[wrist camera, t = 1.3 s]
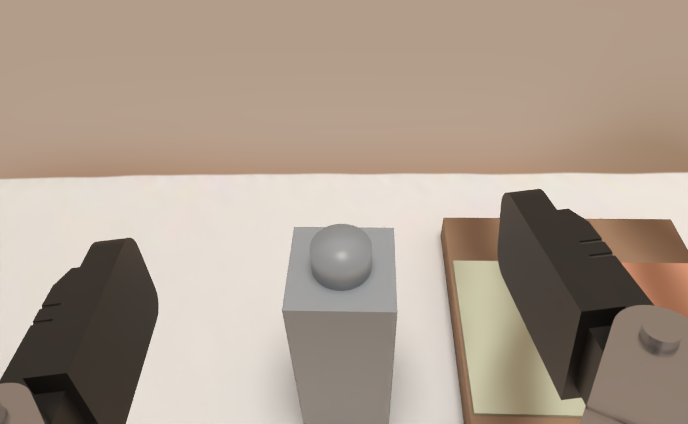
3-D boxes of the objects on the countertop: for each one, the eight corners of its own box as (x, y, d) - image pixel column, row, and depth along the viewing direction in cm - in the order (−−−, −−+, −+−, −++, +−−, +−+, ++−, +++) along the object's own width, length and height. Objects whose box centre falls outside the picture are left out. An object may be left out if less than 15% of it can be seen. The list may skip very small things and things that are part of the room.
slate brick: (304, 425, 31) (278, 291, 22) (311, 351, 35) (291, 207, 26) (388, 428, 31) (398, 292, 22) (386, 352, 35) (395, 208, 25)
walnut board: (475, 515, 28) (482, 501, 26) (440, 235, 42) (444, 215, 40) (810, 526, 27) (839, 512, 25) (660, 237, 41) (672, 216, 40)
